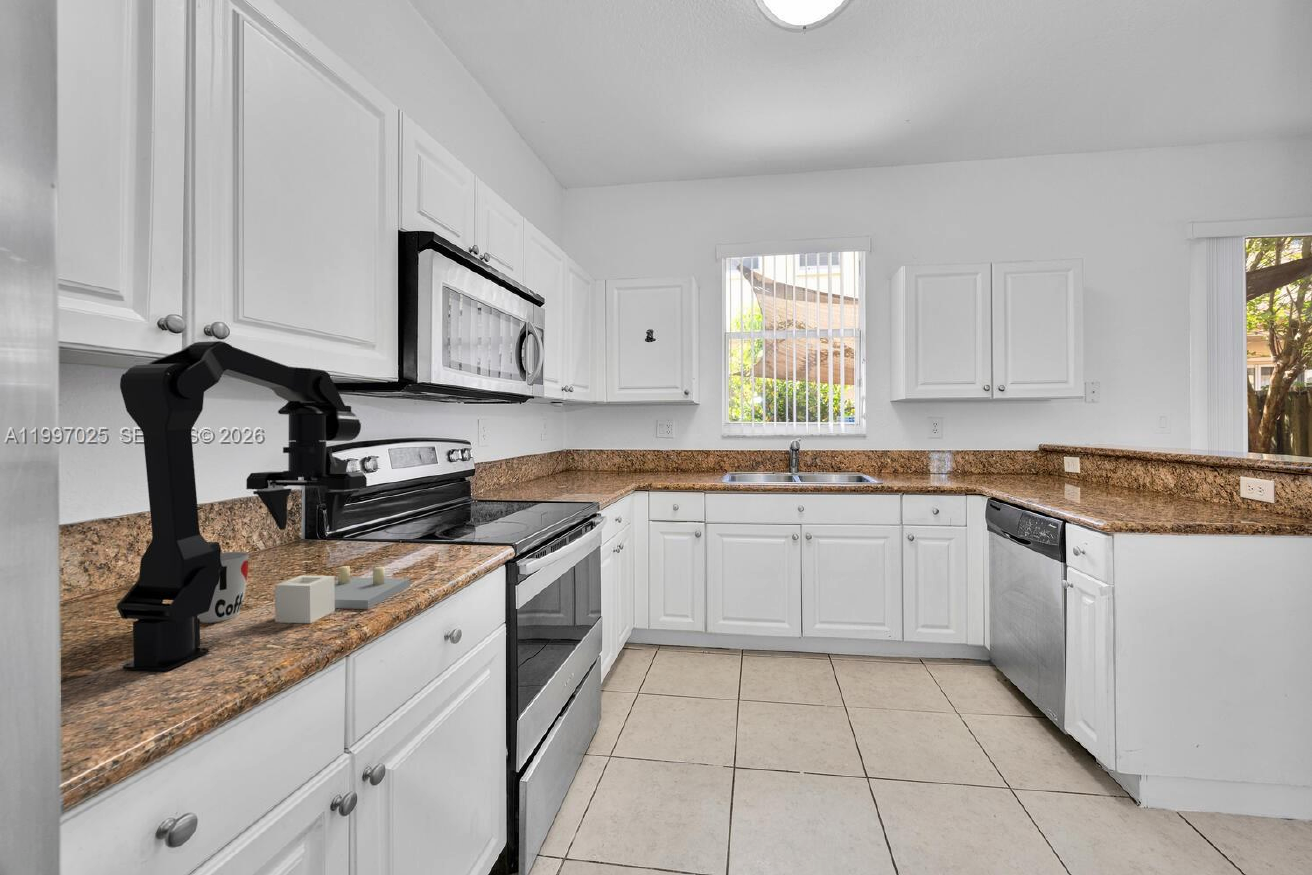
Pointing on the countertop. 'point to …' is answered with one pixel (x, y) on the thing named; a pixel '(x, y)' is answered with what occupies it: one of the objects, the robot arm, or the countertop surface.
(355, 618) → the countertop surface
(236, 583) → the cup
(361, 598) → the plate
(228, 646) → the countertop surface
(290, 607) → the block
